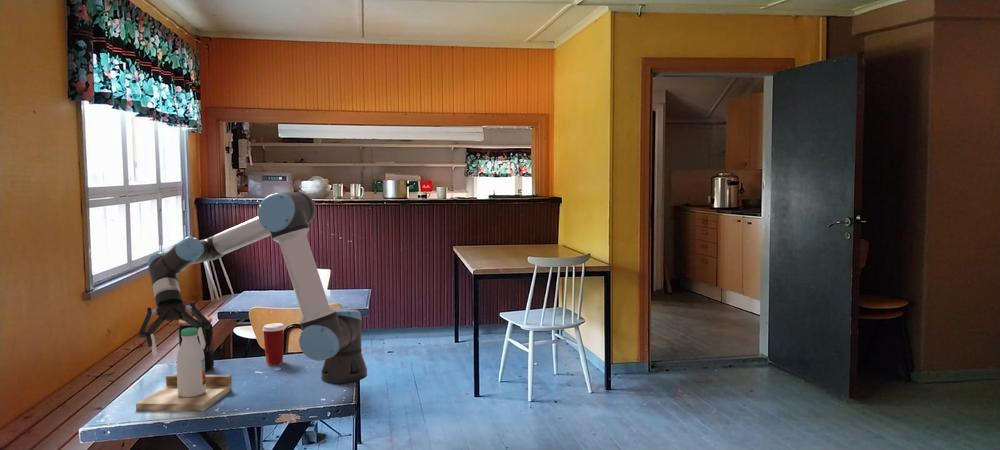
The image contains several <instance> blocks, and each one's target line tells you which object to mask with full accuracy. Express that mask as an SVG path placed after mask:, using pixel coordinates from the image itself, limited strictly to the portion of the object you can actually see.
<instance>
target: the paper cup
mask: <svg viewBox="0 0 1000 450" xmlns="http://www.w3.org/2000/svg"><path fill="white" fill-rule="evenodd" d="M285 328H286V327H285V326H284V324H283V323H279V322H277V323H275V322H274V323H267V324H264V326H263V327H262V331H263V341H264V342H263V343H264V350H265V351H264V352H265V362H266V365H267V364H268V366H277V364H279V365H281V364H280V363H282V362H284V343H285V341H284V338H285V335H284V334H285ZM282 364H283V363H282Z"/></svg>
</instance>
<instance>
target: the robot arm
mask: <svg viewBox="0 0 1000 450" xmlns="http://www.w3.org/2000/svg"><path fill="white" fill-rule="evenodd" d="M258 206H259V207H258V209H257V216H256V217H253V218H251V219H248V220H247V221H244V222H242V223H240V224H238V225H235V226H233V227H230V228H228V229H225V230H223V231H221V232H219V233H216V234H214V235H212V236H209V237H207V238H204V239H200V240H199V239H197V237H193V236H186V237H184V238H183V239H181V240H179V241H178V242H177V244H175V245H174V246H173V247H172V248H171V249H169V250H168V251H167V252H166V251H165V252H161V251H160V252H157V253H156V254H152V255H151V256H150V257H149V258H148V260H147V265H148V272H149V276H150V281H151V284H152V291H153V295H154V300H155V304H156V308H153V309H152V308H151V307H147V308H146V314H145V315H146V316H145V317H144V320H143V323H142V324H141V327H140V329H139V331H138V339H142V338H144V339H145V340H146V346H147V348H151V352H152V357H153V358H157V354H158V349H157V344H156V339H155V334H154V333H155V332H156V331H157V329H158V328H159V327H160V326H161V325H162V324H163V323H164V321H167V322H170V321H179V320H182V321H185V322H187V323H188V324H190V325H192V326H193V327H195V328H197V329H198V336H199V340H200V344H201V347H202V349H205V345H206V344H205V340H204V339H206V336H207V334H206V330H205V329H209V327H210V322H209V321H208V320H207V319H206V318H205V317H204V314H202V313H201V311H199V309H198V308H197V307H196V305H195V303H194V302H190V303H189V304H187V305H185V304H184V302H183V297H182V294H181V288H180V285H179V281H178V274H180V273H182V272H183V271H184V270H185V269H186V268H187V267H189V266H191V265H195V264H199V263H200V264H201V263H205V262H209V261H216V260H219V259H221V258H223V257H224V255H226V254H227V255H228V254H229V253H232V252H233V251H237V250H239V249H240V248H243V247H246V246H248V245H251V244H254V243H255V242H258V241H260V240H264V239H265V238H267V237H270V236H271V239H272V241H274V242H276V243H278V245H279V247H280V250H281V253H282V256H283V259H284V262H285V266H286V269H287V272H288V275H289V278H290V281H291V284H292V287H293V290H294V294H295V296H296V299H297V302H298V303H297V304H298V306H299V310H300V311H301V315H302V316H301V318H300V319H299V325H300V329H301V333H300V336H299V338H298V343H299V347H300V350H301V352H302V353H303V354H304V355H305V356H306V357H307V358H308V359H311V360H313V361H318V362H322V361H324V362H323V365H322V369H321V373H320V375H321V376H320V377H321V380H322V381H323V382H326V383H329V384H330V383H331V384H349V383H354V382H358V381H361V380H363V379H365V378H366V377H367V376H368V368H367V365H366V361H365V359H364V356H363V352H362V314H361V312H360V311H359V310H358V309H352V308H351V309H350V308H349V309H348V308H333V307H330V305H329V301H328V299H327V295H326V293H325V289H324V285H323V282H322V279H321V276H320V272H319V271H318V268H317V264H316V261H315V257H314V255H313V252H312V249H311V246H310V242H309V239H308V233H309V231H310V226H309V224H310V223H311V222H312V221H313V220H314V218H315V216H316V210H317V209H316V204H315V202H314V200H313V199H312V197H311V196H309V195H308V194H306V193H304V192H300V191H293V192H290V191H289V192H288V191H287V192H286V191H285V192H282V191H280V192H276V193H272V194H269V195H267V196H266V197H264V198H263V199H262V201H261V202H260V204H259V205H258ZM188 312H189V313H190V314H191V315H190V314H188ZM155 314H156V315H157V316H158V317H157V319H156V320H155V321H154V322H153V323H152V325H151V326H150V327H149V324H150V321H151V318H152V317H154V316H155ZM193 317H195V318H196V319H197V320H196V319H195V318H193ZM148 327H149V329H147V328H148ZM146 330H147V331H146Z"/></svg>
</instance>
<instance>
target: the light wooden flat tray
mask: <svg viewBox="0 0 1000 450" xmlns="http://www.w3.org/2000/svg"><path fill="white" fill-rule="evenodd" d="M205 378H206V391H205V393H203V394H201V395H199V396H195V397H180V396H179V395H178V387H177V373H175V374H173V373H172V374H167V375H166V376H165V381H166V382H165V384H166V385H165V386H163V387H161V388H160V389H158V390H156V391H154V392H153V393H151V394H149V395H148V396H146V397H145V398H143V399H141V400H139V401H138V402H136V403H135V410H136V411H159V412H160V411H165V412H166V411H171V412H172V411H174V412H177V411H178V412H180V411H181V412H204V411H206V410H207V409H208V408H210V407H211V406H213V405H214V404H215V403H216V402H218V401H220V399H222V398H224V397H225V396H226V395H227V394H229V393H230V392H232V390H233V389H232V388H233V387H232V374H205Z"/></svg>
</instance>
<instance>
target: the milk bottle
mask: <svg viewBox="0 0 1000 450" xmlns="http://www.w3.org/2000/svg"><path fill="white" fill-rule="evenodd" d="M197 336H198V329H197V328H185V329H182V330H181V337H182V343H181V346H180V347H179V349H178V350H177V354H176V374H177V387H178V395H179V396H180V397H195V396H199V395H201V394H203V393H205V391H206V378H205V375H206V372H205V358H204V352H203V349H202V347H201V346H200V344H199V342H198V338H197Z"/></svg>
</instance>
